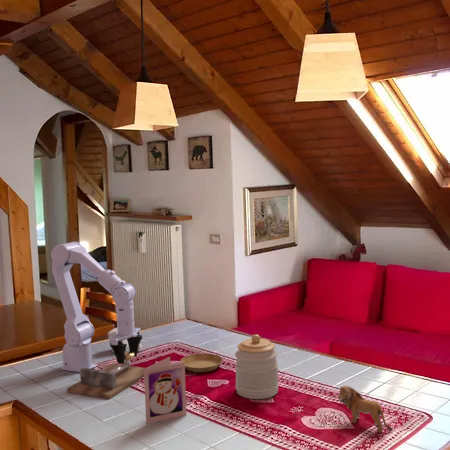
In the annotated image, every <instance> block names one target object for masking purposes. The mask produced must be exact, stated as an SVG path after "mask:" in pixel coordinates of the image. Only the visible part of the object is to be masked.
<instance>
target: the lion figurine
mask: <svg viewBox="0 0 450 450" xmlns="http://www.w3.org/2000/svg"><path fill="white" fill-rule="evenodd" d="M337 399H338V400H339V403H342V404H343V405H344V406H345V407H346V408H347V410H350V412H351V416H352V419H350V423H352V424H355V423H356V422H357V420H359V419H360V414H361V413H362V414H366V415H367V414H369V415H370V416H371V419H372V420H373V421H374V425H375V426H378V427H377V432H378V433H381V432H383V424H382V422H383V423H384V426H385V427H386V428H387V430H390V431H392V430H393V428H392V427H391V426H389V425H388V424H387V422H386V420H385V415H384V412H383V408H382V406H381V405H380V403H378V402H377V401H375V400H370V399H369V400H368V399H366V398H363V396H362V395H361V393H360V392H359V391H357V390H356V389H355V388H353V387H351V386H348V385H343V386H340V387H339V395H337ZM381 419H382V420H381Z"/></svg>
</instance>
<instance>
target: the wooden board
mask: <svg viewBox="0 0 450 450" xmlns="http://www.w3.org/2000/svg"><path fill="white" fill-rule="evenodd" d="M120 365H121V364H119V363H112V364H110V365H108V366H107V367H105V368H102V369H96V368H92V369H89V368H82V369H80V372H79V374H80V380H79V381H78V382H76V383H75V384H72V385H71V386H69V387H67V388H66V389H67V393H73V394H79V395H85V396H90V397H95V398H101V399H109V400H111V399H113V398H115V396H117V395H119V394H120V393H122V392H124V391H125V390H127V389H128V387H129V388H130V387H132V386H134V385H135V384H137V383H138V382H140V381H141V380H140V379H142V378H143V377H144V369H145V368H146V367H140V366H134V365H133V366H132V365H131V367H129V368H126V369H124V370H122V371H121V372H119V373H117V374H116V372H110V371H111V370H113V369H115V368H116V367H118V366H120ZM143 379H144V378H143ZM143 379H142V380H143ZM139 380H140V381H139ZM137 381H138V382H137ZM136 382H137V383H136ZM134 383H135V384H134ZM131 385H132V386H131Z"/></svg>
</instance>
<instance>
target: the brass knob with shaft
mask: <svg viewBox="0 0 450 450" xmlns="http://www.w3.org/2000/svg"><path fill="white" fill-rule="evenodd" d="M134 358H136V357H135V353H134V352H132V351H129V350H127V351H126V350H125V360H124V364H120V366H118V367H116V368H115V369H113V370H111V371H110V372H116V374H117V373H119V372H121V371H122V370H124V369H126V368H129V367H131V366H132V365H131V359H134Z"/></svg>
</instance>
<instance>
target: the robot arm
mask: <svg viewBox="0 0 450 450" xmlns="http://www.w3.org/2000/svg"><path fill="white" fill-rule="evenodd" d="M50 257H51V260H52V261H51V263H52V264H51V271H52V272H51V273H52V276H53V279H54V282H55V284H56V288H57V291H58V293H59V294H58V295H59V297H60V301H61V303H62V308H63V310H64V314H65V316H66V317H65V318H66V320H65V323H64V324H63V328H64V339H65V341H66V342H65V343H64V345H63V348H62V365H63V367H62V368H61V370H63V371H70V372H76V373H80V369H82V368H89V369H95V368H96V367H97V366H98V364H97V363H92V362H93V361H92V337H94V334H95V328H94V327H95V326H94V325H93V324H92V323H91V321H90V319H89V316H87V315H86V314H84V313H83V310H82V307H81V304H80V302H79V301H80V300H79V298H78V295H77V291H76V288H75V285H74V281H73V279H72V276H71V275H72V274H71V269H72V267H73V265H74V264H80V265H82V266H83V268H85V269H86V270H88V271H89V272H90V273H92V274H93V275H95V277H97V282H98V283H99V285H100V286H102V287H103V288H104V289H105V290H106V291H107V292H109V294H110V295H111V298H112V300H113V301H114V304H115V309H116V328H117V334H116V335H115V336H114V337H113V338H112V339H111V343H110V342H109V347H110V349H111V350H112V349H113V351H114V353H113V354H114V356H115V358H116V361H117V364H120V365H122V364H124V360H125V352H126V349H127V348H126V346H127V344H123V343H122V341H124V340H126V339H127V341H128V351H132V352H134V353H135V357H134V358H136V357H137V356H138V351H139V350H138V347H139V344H141V342H142V339H143V335H142V334H141V327H135V311H134V305H135V304H134V299H135V298H136V296H137V290H136V288H135V286H134V285H133V284H132V283H130V282H126V281H125V280H122V278H120V277H119V276H118V275H116V272H115V270H112V269H105V268H104V267H103V266H101V264H100V263H99V262H98V261H97V260H95V258H93V257H92V256H91V254H90V253H89V252H88V251H87V249H86V247H84V246H83V245H82V244H81V243H80V242H78V241H74V240H73V241H71V242H67V243H63V244H57V245H55V246H54V247H53V249H52V251H51V252H50Z"/></svg>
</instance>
